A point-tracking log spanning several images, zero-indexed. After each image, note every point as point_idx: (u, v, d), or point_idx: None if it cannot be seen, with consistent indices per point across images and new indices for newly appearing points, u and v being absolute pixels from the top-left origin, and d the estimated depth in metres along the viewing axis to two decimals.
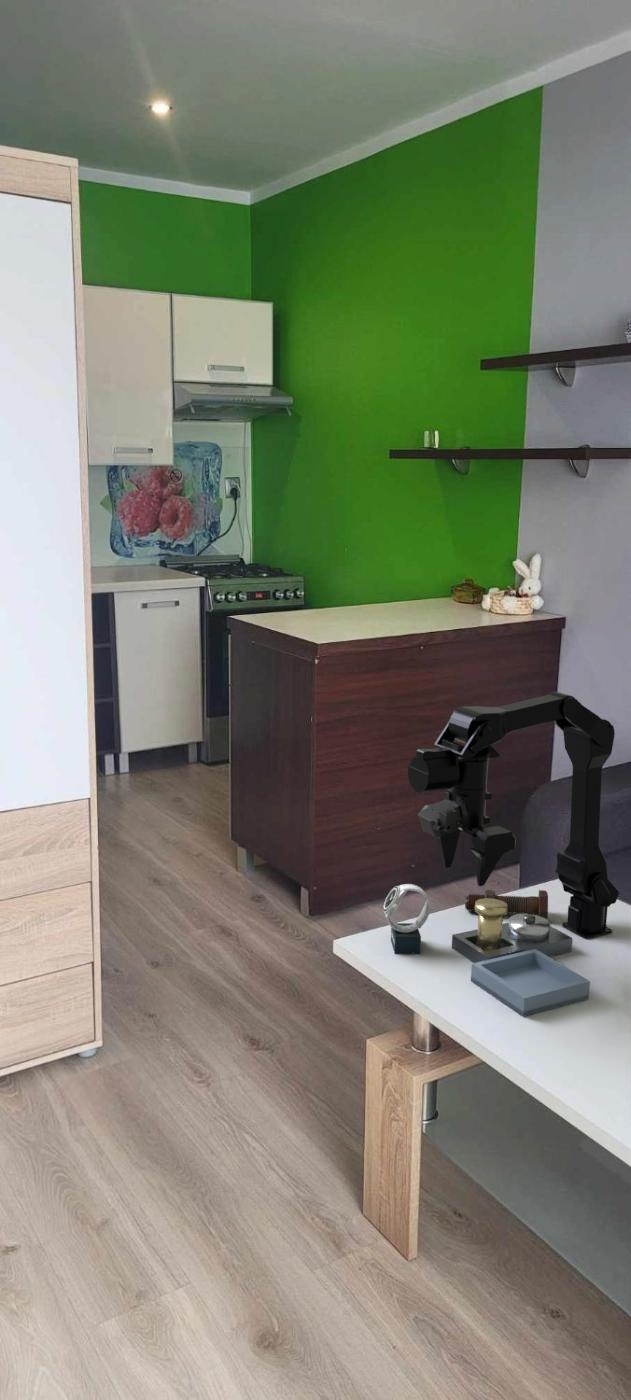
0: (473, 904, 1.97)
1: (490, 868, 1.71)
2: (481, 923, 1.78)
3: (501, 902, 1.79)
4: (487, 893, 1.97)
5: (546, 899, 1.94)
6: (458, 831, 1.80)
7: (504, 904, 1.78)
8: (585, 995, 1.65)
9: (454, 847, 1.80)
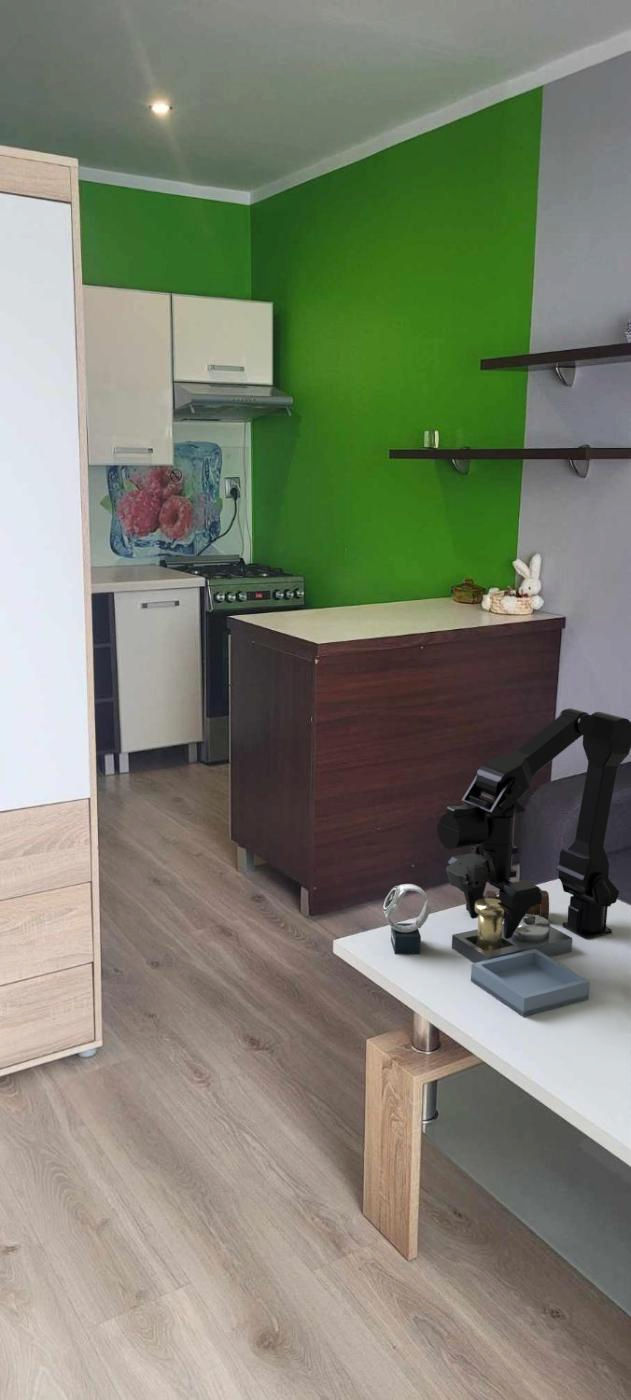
0: None
1: (517, 921, 1.74)
2: (481, 923, 1.78)
3: None
4: (488, 894, 1.97)
5: (547, 899, 1.94)
6: None
7: None
8: (585, 995, 1.65)
9: (480, 898, 1.83)
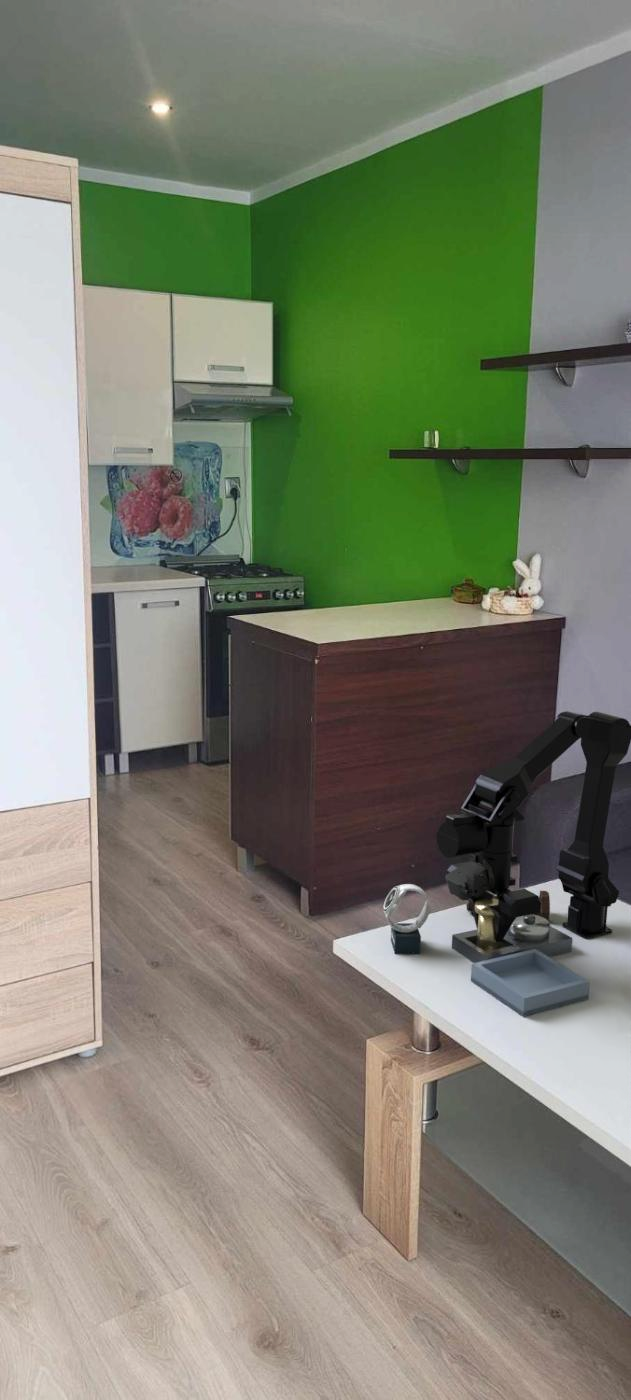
0: None
1: (508, 925, 1.76)
2: (481, 923, 1.78)
3: None
4: None
5: (548, 899, 1.94)
6: (491, 894, 1.82)
7: None
8: (585, 995, 1.65)
9: None
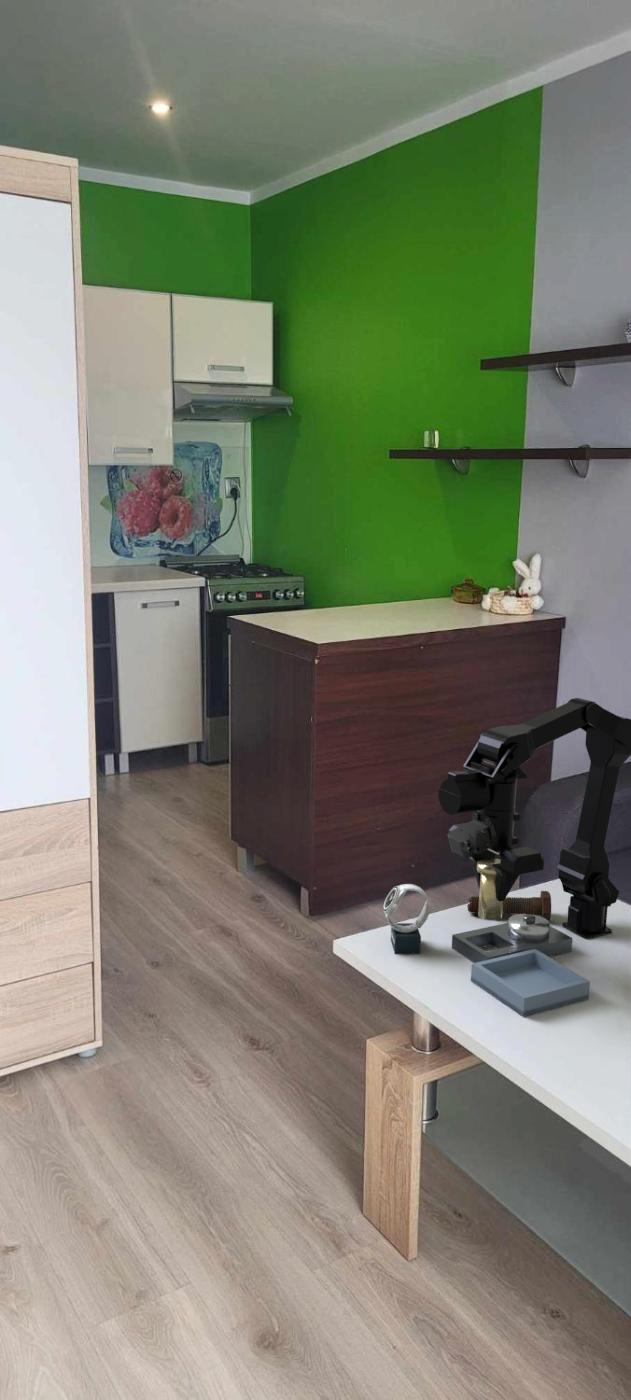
0: (476, 906, 1.96)
1: (510, 884, 1.75)
2: (483, 883, 1.76)
3: None
4: None
5: (549, 900, 1.94)
6: (493, 854, 1.80)
7: None
8: (585, 995, 1.65)
9: None
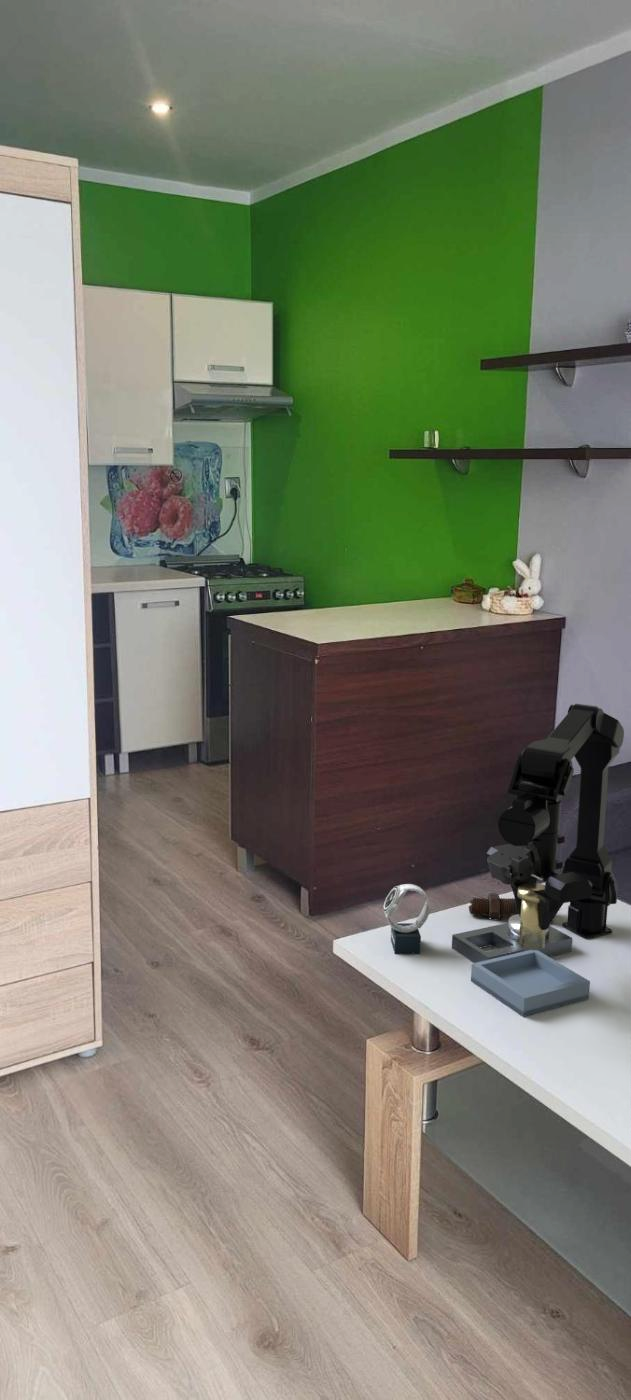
0: (478, 908, 1.95)
1: (554, 911, 1.63)
2: (525, 910, 1.64)
3: None
4: (491, 896, 1.96)
5: None
6: (534, 879, 1.68)
7: None
8: (585, 995, 1.65)
9: None
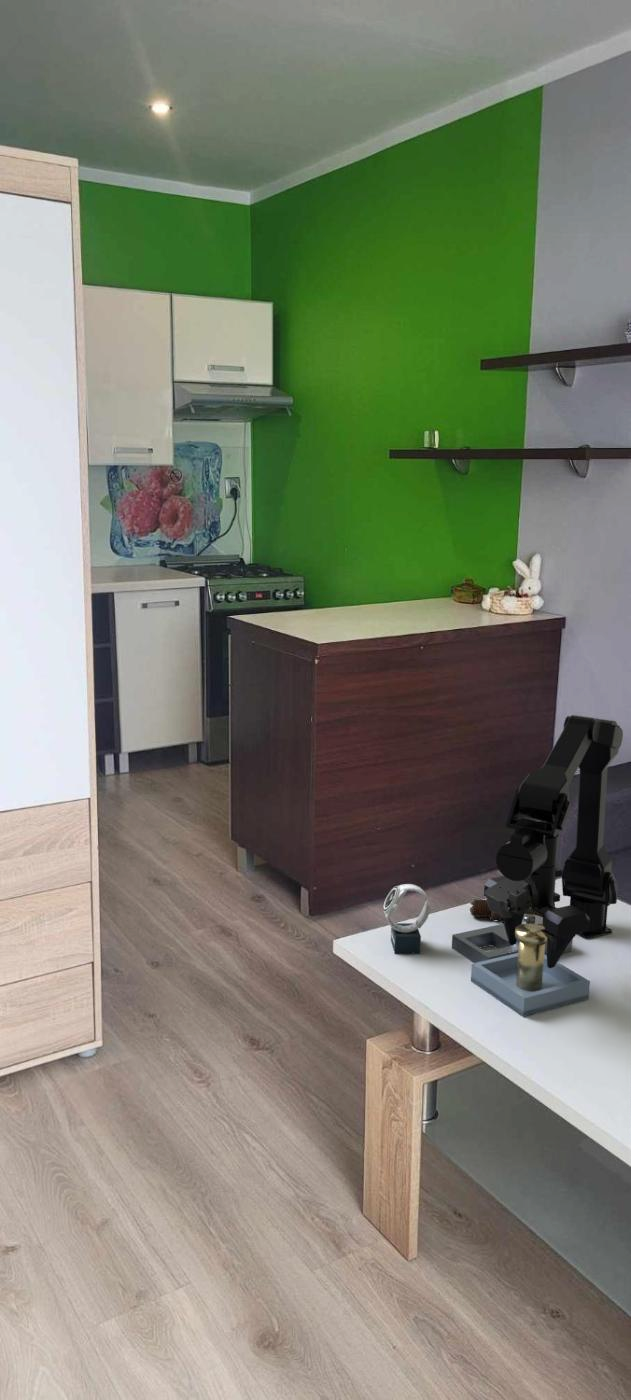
0: (480, 910, 1.94)
1: (561, 949, 1.62)
2: (522, 951, 1.66)
3: (543, 928, 1.67)
4: None
5: None
6: None
7: None
8: (585, 995, 1.65)
9: (519, 923, 1.71)
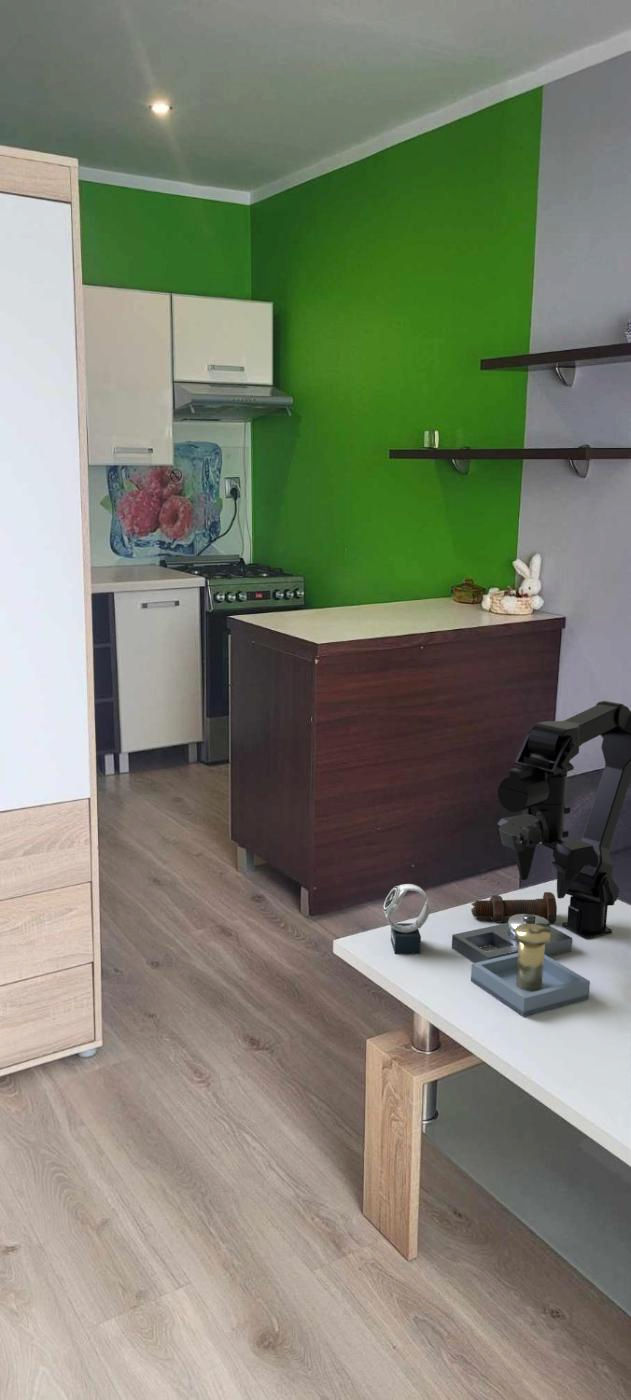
0: (482, 911, 1.94)
1: (570, 881, 1.74)
2: (522, 951, 1.66)
3: (543, 928, 1.67)
4: (495, 898, 1.94)
5: (554, 901, 1.93)
6: None
7: (547, 931, 1.66)
8: (585, 995, 1.65)
9: (530, 859, 1.83)
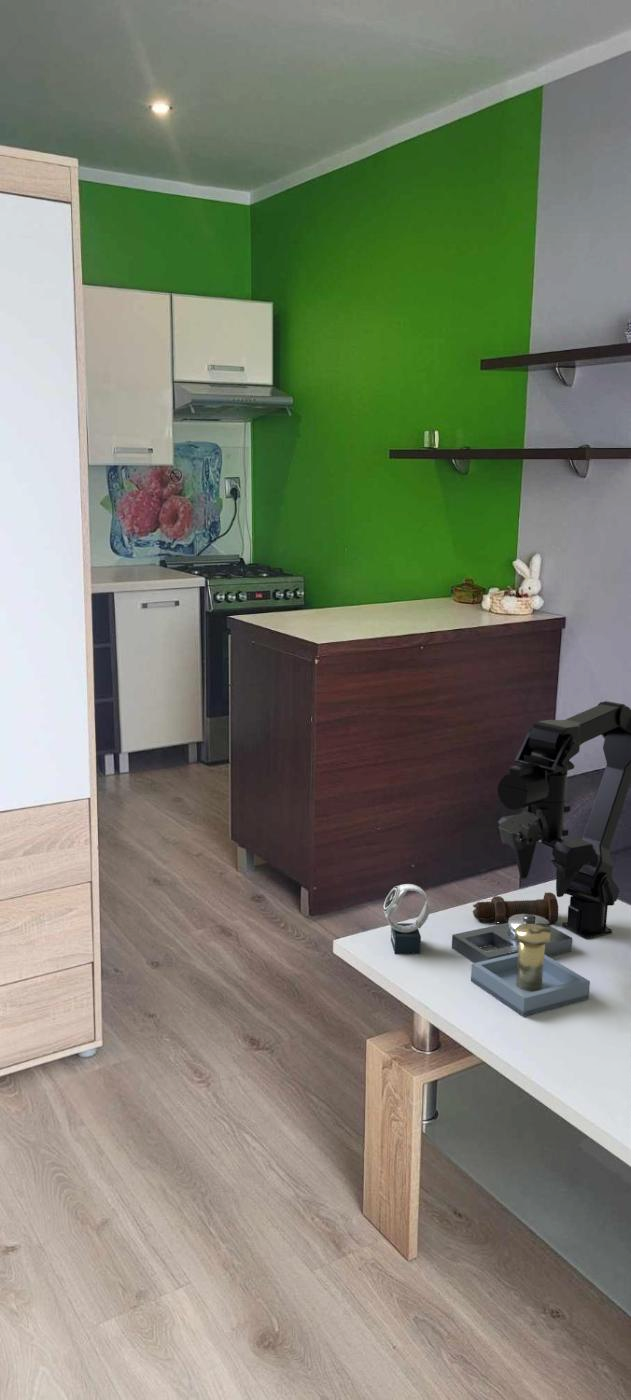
0: (484, 912, 1.93)
1: (569, 879, 1.74)
2: (522, 951, 1.66)
3: (543, 928, 1.67)
4: (496, 900, 1.94)
5: (556, 901, 1.93)
6: (534, 842, 1.83)
7: (547, 931, 1.66)
8: (585, 995, 1.65)
9: (530, 858, 1.83)
